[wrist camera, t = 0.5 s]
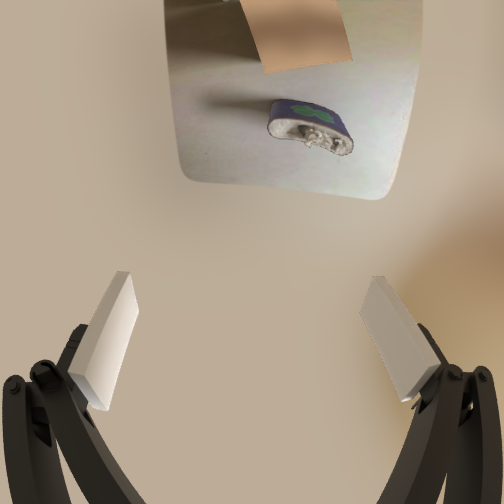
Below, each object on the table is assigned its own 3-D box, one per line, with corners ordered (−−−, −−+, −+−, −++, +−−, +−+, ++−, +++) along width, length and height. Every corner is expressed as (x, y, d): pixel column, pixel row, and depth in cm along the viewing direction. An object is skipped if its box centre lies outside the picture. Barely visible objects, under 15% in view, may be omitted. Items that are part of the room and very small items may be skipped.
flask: (269, 114, 32) (263, 143, 25) (274, 94, 30) (269, 114, 23) (338, 132, 33) (355, 166, 25) (344, 112, 31) (364, 141, 23)
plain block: (256, 14, 23) (239, -1, 14) (314, 3, 21) (330, -17, 12) (273, 63, 27) (265, 74, 18) (329, 53, 26) (352, 60, 16)
